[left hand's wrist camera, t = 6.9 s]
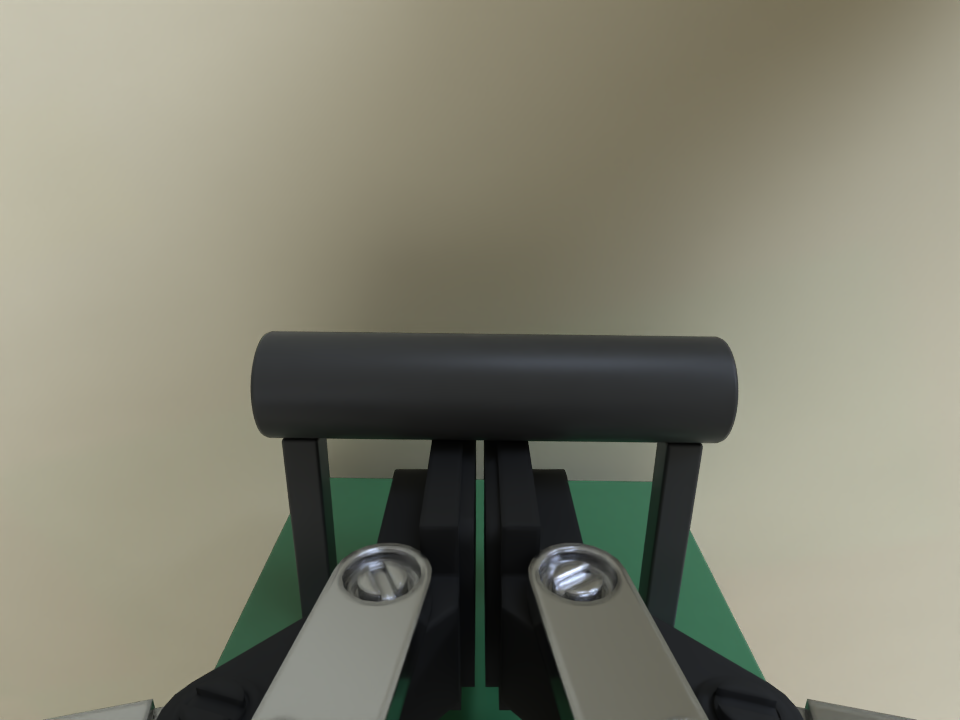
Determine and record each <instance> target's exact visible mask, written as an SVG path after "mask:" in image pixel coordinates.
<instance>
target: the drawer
mask: <svg viewBox="0 0 960 720" xmlns="http://www.w3.org/2000/svg"><path fill="white" fill-rule="evenodd" d="M251 403H252V410H253V415H254V419H255V422H256V425H257V427H258V429H259V431H260V432H261V433H262V434H263V435H264V436H266V437H269V438H283V440H282V447H283V455H284V464H285V473H286V481H287V490H288V499H289V507H290V515H289V517H288V519H287V521H286V523H285V525H284V527H283V529H282V531H281V533H280V535H279V537H278V540H277V542H276V544H275V546H274V548H273V550H272V552H271V554H270V556H269V558H268V560H267V562H266V564H265V566H264V568H263V570H262V572H261V574H260V577H259V579H258V581H257V583H256V585H255V587H254V589H253V591H252V593H251V595H250V597H249V599H248V601H247V603H246V605H245V607H244V609H243V612H242V614H241V616H240V618H239V620H238V622H237V624H236V626H235V628H234V630H233V632H232V634H231V636H230V638H229V640H228V642H227V644H226V647H225V649H224V651H223V653H222V655H221V657H220V659H219V661H218V663H217V665H216V667H215V669H216V668H218V667H219V666H221V665H223V664H224V663H226V662H228V661H230V660H231V659H233V658H235V657H236V656H238V655H240V654H242V653H243V652H245V651H247V650H248V649H250V648H252V647H254V646H255V645H257V644H259V643H260V642H262V641H264V640H266V639H267V638H269V637H271V636H272V635H274V634H276V633H277V632H279V631H281V630H283V629H284V628H286V627H288V626H289V625H291V624H293V623H295V622H296V621H298V620H300V619H301V618H303V617H305V616H307V615H308V614H310V612H311V611H312V609H313V607H314V605H315V603H316V602H317V600H318V598H319V596H320V594H321V592H322V591H323V589H324V587H325V585H326V583H327V582H328V580H329V578H330V576H331V574H332V573H333V571H334V569H335V568H336V566H337V565H338V564H339V563H340V561H341V560H342V559H343V558H345V557H346V556H348V555H349V554H350V553H352V552H353V551H355V550H358V549H360V548H363V547H365V546H368V545H373V544H377V540H378V536H379V532H380V528H381V524H382V520H383V516H384V512H385V508H386V504H387V500H388V496H389V492H390V487H391V483H392V479H391V478H330V475H329V463H328V452H327V440H326V438H333V439H416V440H499V441H582V442H657V450H656V458H655V466H654V473H653V481H652V482H641V481H568V484H569V488H570V492H571V496H572V500H573V504H574V508H575V512H576V516H577V520H578V524H579V528H580V532H581V536H582V541H583V544H587V545H592V546H595V547H597V548H600V549H602V550H605V551H607V552H608V553H610V554H611V555H612V556H614V557H615V558H617V559H618V560H619V561H620V563H621V564H622V565H623V566H624V568H625V569H626V571H627V573H628V574H629V576H630V578H631V580H632V582H633V583H634V585H635V587H636V589H637V591H638V592H639V594H640V596H641V598H642V600H643V602H644V603H645V605H646V607H647V609H648V611H649V612H650V614H652V615H653V616H655V617H657V618H659V619H660V620H662V621H664V622H665V623H667V624H669V625H671V626H672V627H674V628H676V629H677V630H679V631H681V632H683V633H684V634H686V635H688V636H689V637H691V638H693V639H694V640H696V641H698V642H700V643H701V644H703V645H705V646H706V647H708V648H710V649H712V650H713V651H715V652H717V653H718V654H720V655H722V656H724V657H725V658H727V659H729V660H730V661H732V662H734V663H736V664H737V665H739V666H741V667H742V668H744V669H746V670H748V671H749V672H751V673H753V674H754V675H756V676H758V677H760V678H761V679H763V680H765V678H764V676H763V674H762V672H761V670H760V668H759V666H758V664H757V662H756V660H755V658H754V656H753V654H752V652H751V650H750V648H749V647H748V645H747V643H746V641H745V639H744V637H743V635H742V633H741V631H740V629H739V627H738V625H737V623H736V621H735V619H734V617H733V615H732V613H731V611H730V609H729V607H728V605H727V603H726V601H725V599H724V597H723V595H722V593H721V591H720V589H719V587H718V585H717V583H716V581H715V579H714V577H713V575H712V573H711V571H710V569H709V567H708V565H707V563H706V561H705V559H704V557H703V555H702V553H701V551H700V549H699V547H698V545H697V543H696V541H695V539H694V537H693V535H692V533H691V531H690V525H691V518H692V512H693V506H694V499H695V493H696V487H697V480H698V474H699V468H700V462H701V455H702V449H703V446H702V444H701V443H718V442H721V441H723V440H724V439H725V438H727V436H728V435H729V433H730V431H731V429H732V427H733V424H734V421H735V417H736V412H737V404H738V377H737V369H736V365H735V360H734V357H733V354H732V352H731V349H730V347H729V346H728V344H727V343H726V342H725V341H724V340H723V339H721V338H718V337H695V336H614V335H532V334H450V333H369V332H287V331H271V332H269V333H266V334H265V335H264V336H263V337H262V338H261V340H260V342H259V344H258V346H257V349H256V352H255V356H254V360H253V366H252V373H251ZM765 681H766V680H765ZM438 720H522V719H520V718H519V717H518V716H517V715H516V714H514V713H513V712H512V711H511V710H499V692H498V687H485V606H484V480H476V602H475V687H462V692H461V710H449V711H448V712H447V713H446V714H444V715H443V716H442V717H441V718H440V719H438Z"/></svg>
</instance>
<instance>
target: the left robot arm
mask: <svg viewBox="0 0 960 720" xmlns="http://www.w3.org/2000/svg"><path fill="white" fill-rule="evenodd" d="M475 602H476V440H432V445H431V451H430V458H429V465H428V469H396V470H395V472H394V475H393V479H392V483H391V487H390V492H389V496H388V500H387V504H386V508H385V512H384V516H383V520H382V524H381V528H380V532H379V536H378V540H377V544H373V545H368V546H365V547H363V548H360V549H358V550H355V551H353V552H352V553H350V554H349V555H348V556H346V557H345V558H343V559H342V560H341V561H340V563H339V564H338V565H337V566H336V568H335V569H334V571H333V573H332V574H331V576H330V578H329V580H328V582H327V583H326V585H325V587H324V589H323V591H322V592H321V594H320V596H319V598H318V600H317V602H316V603H315V605H314V607H313V609H312V611H311V612H310V614H308V615H307V616H305V617H303V618H301V619H300V620H298V621H296V622H295V623H293V624H291V625H289V626H288V627H286V628H284V629H283V630H281V631H279V632H277V633H276V634H274V635H272V636H271V637H269V638H267V639H266V640H264V641H262V642H260V643H259V644H257V645H255V646H254V647H252V648H250V649H248V650H247V651H245V652H243V653H242V654H240V655H238V656H236V657H235V658H233V659H231V660H230V661H228V662H226V663H224V664H223V665H221V666H219V667H218V668H216V669H214V670H212V671H211V672H209V673H207V674H206V675H204V676H202V677H201V678H199V679H197V680H195V681H194V682H192V683H191V684H189V685H188V686H186V687H185V688H184V689H182V690H181V691H179V692H178V693H177V694H175V695H174V696H173V697H172V699H171V700H170V701H169V702H168V703H167V704H166V705H165V706H164V707H160V708H155V706H154V702H153V699H150V700H144V701H139V702H134V703H129V704H123V705H118V706H113V707H108V708H102V709H97V710H92V711H87V712H81V713H76V714H71V715H66V716H60V717H55V718H50V719H45V720H438V719H440V718H441V717H442V716H443V715H444V714H446V713H447V712H448V711H449V710H461V692H462V687H475ZM484 606H485V687H498V692H499V710H511V711H512V712H513V713H514V714H516V715H517V716H518V717H519V718H520V719H522V720H915V719H910V718H905V717H900V716H894V715H889V714H884V713H879V712H873V711H868V710H863V709H858V708H852V707H847V706H842V705H837V704H831V703H826V702H821V701H816V700H810V699H807V702H806V706H805V708H800V707H796V706H795V705H794V704H793V703H792V702H791V701H790V700H789V699H788V697H787V696H786V695H785V694H783V693H782V692H781V691H779V690H778V689H776V688H775V687H774V686H772V685H771V684H769V683H768V682H766V681H765V680H763V679H761V678H760V677H758V676H756V675H754V674H753V673H751V672H749V671H748V670H746V669H744V668H742V667H741V666H739V665H737V664H736V663H734V662H732V661H730V660H729V659H727V658H725V657H724V656H722V655H720V654H718V653H717V652H715V651H713V650H712V649H710V648H708V647H706V646H705V645H703V644H701V643H700V642H698V641H696V640H694V639H693V638H691V637H689V636H688V635H686V634H684V633H683V632H681V631H679V630H677V629H676V628H674V627H672V626H671V625H669V624H667V623H665V622H664V621H662V620H660V619H659V618H657V617H655V616H653V615H652V614H650V612H649V611H648V609H647V607H646V605H645V603H644V602H643V600H642V598H641V596H640V594H639V592H638V591H637V589H636V587H635V585H634V583H633V582H632V580H631V578H630V576H629V574H628V573H627V571H626V569H625V568H624V566H623V565H622V564H621V563H620V561H619V560H618V559H617V558H615V557H614V556H612V555H611V554H610V553H608V552H607V551H605V550H602V549H600V548H597V547H595V546H592V545H587V544H583V541H582V536H581V532H580V528H579V524H578V520H577V516H576V512H575V508H574V504H573V500H572V496H571V492H570V488H569V484H568V479H567V475H566V472H565V470H564V469H532V465H531V458H530V452H529V445H528V441H499V440H484Z"/></svg>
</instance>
